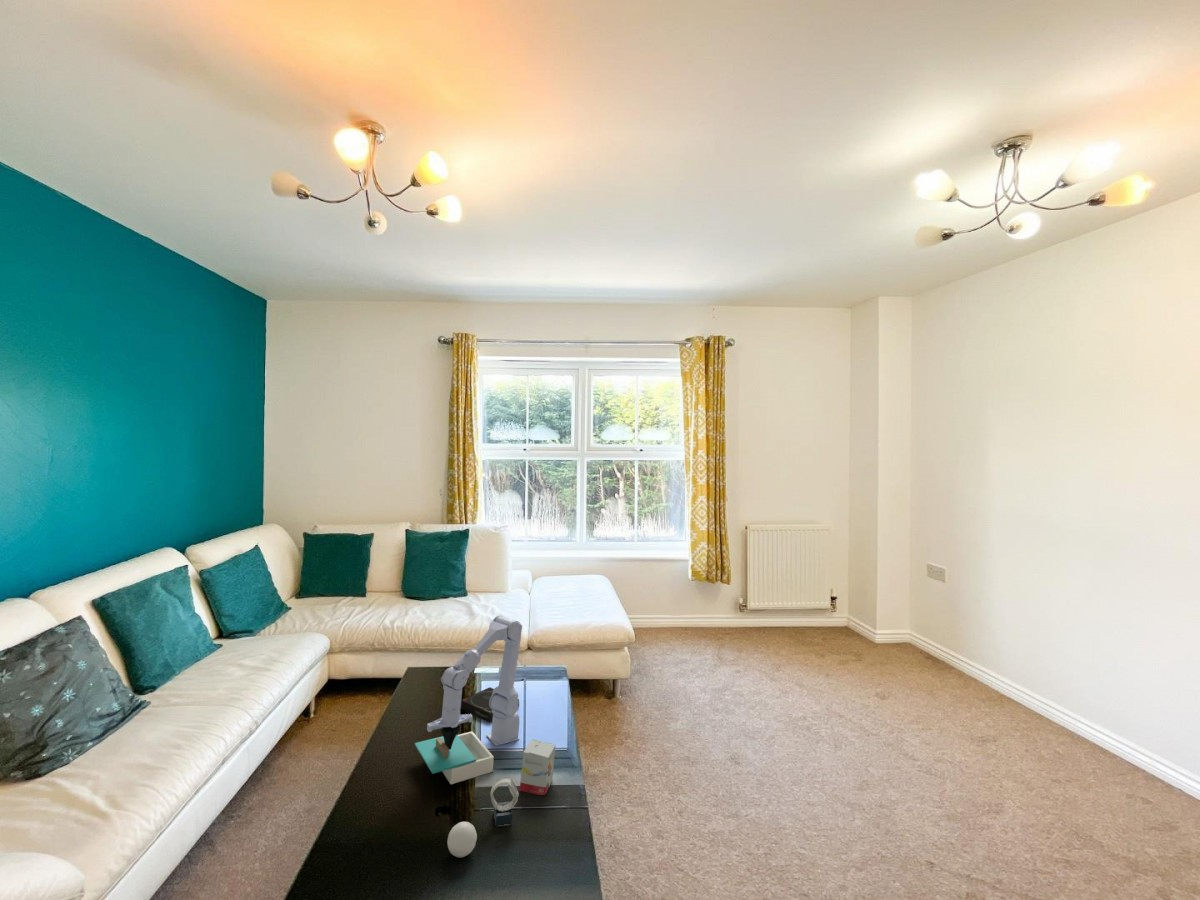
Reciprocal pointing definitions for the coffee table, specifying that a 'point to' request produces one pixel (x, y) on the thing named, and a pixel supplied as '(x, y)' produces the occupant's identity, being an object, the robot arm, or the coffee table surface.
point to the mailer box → (475, 768)
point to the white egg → (462, 839)
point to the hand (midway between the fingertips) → (447, 748)
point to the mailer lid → (444, 754)
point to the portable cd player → (479, 704)
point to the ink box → (537, 767)
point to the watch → (504, 809)
